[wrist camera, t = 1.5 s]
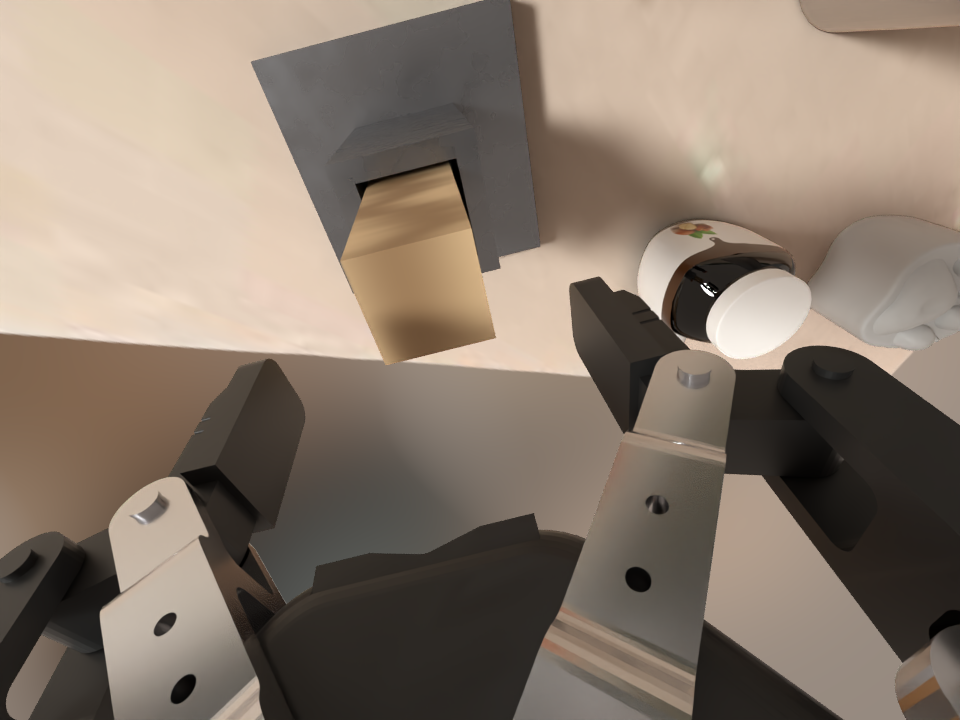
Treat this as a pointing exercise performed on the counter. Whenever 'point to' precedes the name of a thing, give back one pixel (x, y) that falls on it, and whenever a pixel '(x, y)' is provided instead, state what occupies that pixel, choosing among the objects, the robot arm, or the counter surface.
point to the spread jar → (723, 287)
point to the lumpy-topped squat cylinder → (891, 282)
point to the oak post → (417, 265)
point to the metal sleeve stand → (412, 119)
